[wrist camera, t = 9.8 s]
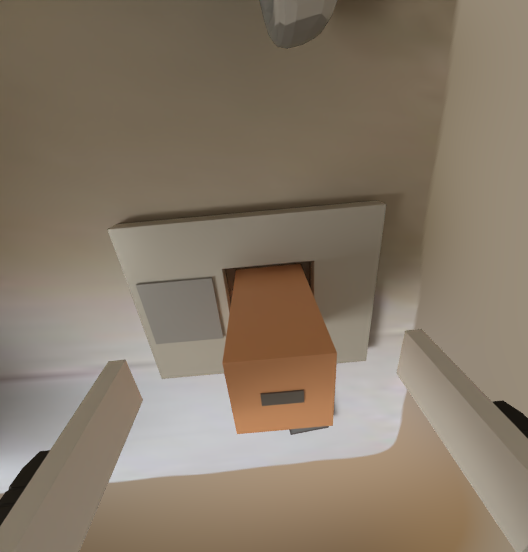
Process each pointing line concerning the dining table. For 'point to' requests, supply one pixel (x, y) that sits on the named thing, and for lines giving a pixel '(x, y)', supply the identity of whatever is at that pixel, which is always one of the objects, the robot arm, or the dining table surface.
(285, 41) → the coffee mug
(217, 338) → the outlet plate
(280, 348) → the block
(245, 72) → the dining table surface
